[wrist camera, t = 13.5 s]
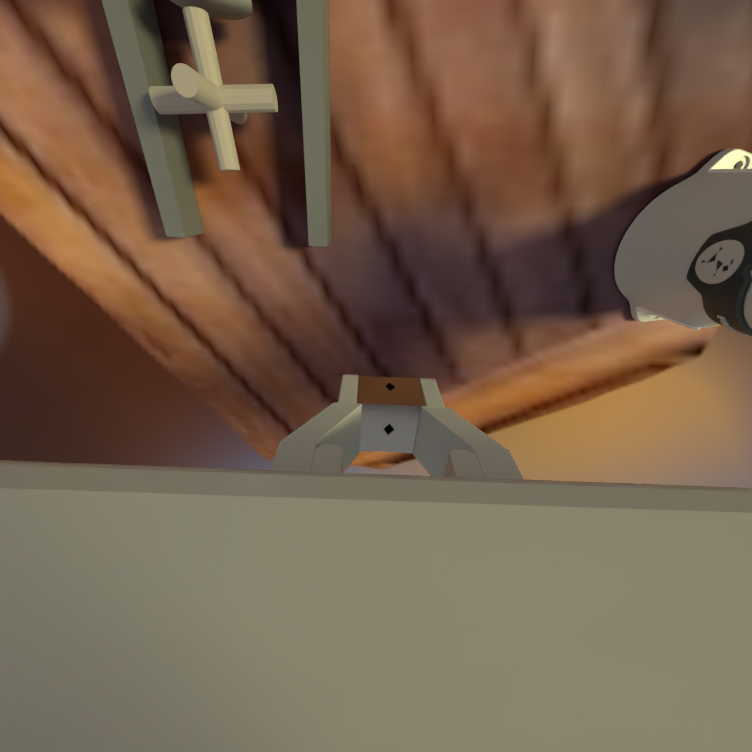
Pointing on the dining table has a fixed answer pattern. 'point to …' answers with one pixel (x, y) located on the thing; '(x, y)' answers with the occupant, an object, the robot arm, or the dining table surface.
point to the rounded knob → (220, 7)
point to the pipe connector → (211, 91)
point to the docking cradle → (163, 131)
